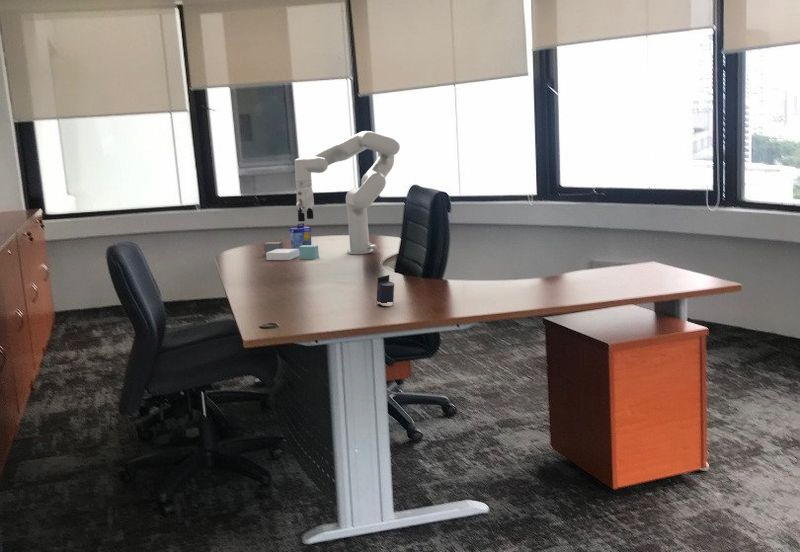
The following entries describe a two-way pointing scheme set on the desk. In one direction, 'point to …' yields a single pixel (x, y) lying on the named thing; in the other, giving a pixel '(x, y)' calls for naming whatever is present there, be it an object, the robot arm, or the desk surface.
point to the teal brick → (308, 252)
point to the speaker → (385, 290)
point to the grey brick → (272, 246)
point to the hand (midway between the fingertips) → (305, 220)
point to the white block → (282, 254)
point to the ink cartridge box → (300, 236)
